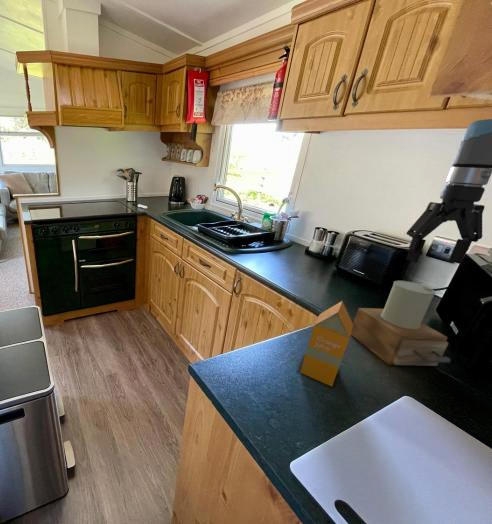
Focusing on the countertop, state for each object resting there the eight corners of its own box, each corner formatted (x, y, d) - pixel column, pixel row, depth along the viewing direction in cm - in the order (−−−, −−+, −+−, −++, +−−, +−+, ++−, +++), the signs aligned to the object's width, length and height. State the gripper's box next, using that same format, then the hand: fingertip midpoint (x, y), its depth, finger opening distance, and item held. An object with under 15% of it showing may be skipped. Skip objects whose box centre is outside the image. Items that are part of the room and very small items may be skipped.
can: (426, 332, 82) (444, 295, 78) (387, 325, 85) (402, 288, 80) (410, 317, 90) (426, 282, 86) (375, 311, 93) (389, 276, 89)
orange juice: (337, 369, 79) (360, 305, 72) (332, 387, 73) (357, 318, 66) (306, 356, 84) (325, 295, 77) (299, 372, 77) (319, 306, 71)
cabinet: (433, 365, 84) (447, 337, 80) (388, 364, 83) (401, 336, 79) (387, 334, 98) (398, 309, 95) (349, 333, 98) (358, 307, 94)
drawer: (452, 376, 78) (465, 352, 75) (409, 375, 77) (420, 351, 75) (393, 336, 96) (401, 315, 93) (357, 335, 95) (364, 314, 92)
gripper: (436, 184, 71) (405, 264, 78) (526, 188, 73) (487, 267, 80) (407, 181, 78) (381, 256, 85) (490, 186, 80) (458, 258, 87)
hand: (433, 261), depth 82 cm, fingers open, 13 cm apart
